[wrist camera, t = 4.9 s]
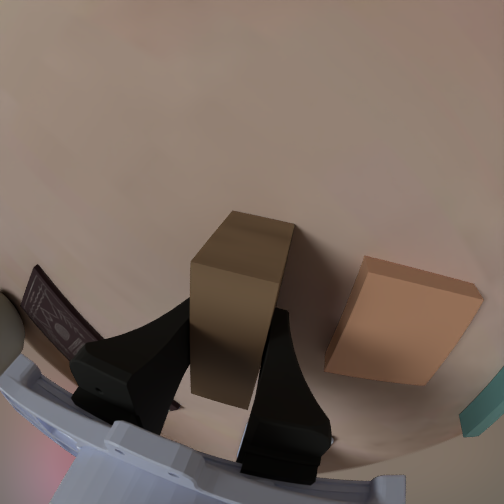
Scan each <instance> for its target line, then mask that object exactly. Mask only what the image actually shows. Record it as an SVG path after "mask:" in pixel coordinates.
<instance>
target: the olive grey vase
mask: <svg viewBox="0 0 504 504" xmlns="http://www.w3.org/2000/svg"><path fill="white" fill-rule="evenodd" d="M24 338H25V331H24V326H23V322H22V320H21V317H20V315H19V313H18V311H17V310H16V308H15V307H14V305H13V304H12V303H11V302H10V301H9V300H8V299H7V297H6V296H5V295H3V294H2V293H1V292H0V376H1V375H2V374H3V373H4V372H5V371H6V370H7V368H8V367H9V366H10V365H11V364H12V363H13V362H14V360H15V359H16V358H17V357H18V356H19V355H20V353H21V351H22V350H23V346H24Z"/></svg>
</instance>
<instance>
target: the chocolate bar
mask: <svg viewBox="0 0 504 504" xmlns="http://www.w3.org/2000/svg"><path fill="white" fill-rule="evenodd" d="M20 306H21V307H22V309H23V310H24V311H25V312H26V314H27V315H28V316H29V317H30V318H31V320H32V321H33V322H34V323H35V324H36V326H37V327H38V328H39V329H40V330H41V331H42V332H43V334H44V335H45V336H46V337H47V338H48V339H49V340H50V341H51V342H52V343H53V344H54V346H55V347H56V348H57V349H58V350H59V351H60V352H61V353H62V354H63V355H64V356H65V357H66V358H67V359H68V360H69V361H71V360H72V359H73V357H74V356H75V355H76V354H77V352H78V351H79V350H80V349H81V347H82V346H83V345H84V344H85V343H87V342H93V341H99V340H104V339H103V338H102V337H101V336H100V335H99V334H98V333H97V332H96V331H95V330H94V328H93V327H92V326H91V325H90V324H89V323H88V322H87V321H86V320H85V319H84V318H83V317H82V316H81V315H80V314H79V313H78V312H77V310H76V309H75V308H74V307H73V306H72V305H71V304H70V303H69V301H68V300H67V299H66V298H65V297H64V296H63V295H62V293H61V292H60V291H59V290H58V289H57V287H56V286H55V285H54V284H53V283H52V281H51V280H50V279H49V278H48V276H47V275H46V274H45V273H44V271H43V270H42V269H41V268H40V266H39V265H38V264H37V265H36V266H35V267H34V268H33V271H32V273H31V276H30V279H29V281H28V284H27V287H26V290H25V293H24V296H23V299H22V302H21V305H20ZM179 407H180V404H178V403H177V402H176V401H174V400H173V401H172V404H171V406H170V409H169V411H173V410H178V409H179Z"/></svg>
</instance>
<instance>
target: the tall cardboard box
mask: <svg viewBox="0 0 504 504" xmlns="http://www.w3.org/2000/svg"><path fill="white" fill-rule="evenodd" d="M294 225H295V224H292V223H287V222H283V221H278V220H274V219H269V218H265V217H260V216H255V215H251V214H246V213H241V212H236V211H232V212H231V213H230V214H229V216H228V217H227V218H226V219H225V220H224V222H223V223H222V224H221V225H220V226H219V228H218V229H217V230H216V231H215V232H214V234H213V235H212V236H211V237H210V238H209V240H208V241H207V242H206V243H205V245H204V246H203V247H202V248H201V249H200V251H199V252H198V253H197V254H196V256H195V257H194V258H193V259H192V261H191V267H190V378H191V393H192V394H195V395H198V396H201V397H204V398H207V399H211V400H214V401H217V402H221V403H224V404H228V405H231V406H235V407H238V408H242V409H246V410H248V407H249V404H250V400H251V397H252V394H253V390H254V387H255V383H256V380H257V376H258V373H259V369H260V366H261V361H262V356H263V352H264V348H265V344H266V340H267V336H268V332H269V328H270V324H271V320H272V317H273V313H274V309H275V308H276V304H277V300H278V295H279V291H280V287H281V283H282V278H283V274H284V270H285V265H286V261H287V257H288V252H289V248H290V243H291V239H292V234H293V230H294Z"/></svg>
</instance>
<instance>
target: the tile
mask: <svg viewBox="0 0 504 504" xmlns="http://www.w3.org/2000/svg"><path fill="white" fill-rule="evenodd" d="M483 301H484V299H483V298H482V296H481V295H480V293H479V291H478V290H477V288H476V287H475V285H474V284H473V283H469V282H465V281H462V280H458V279H454V278H450V277H447V276H443V275H439V274H435V273H432V272H428V271H424V270H420V269H416V268H412V267H408V266H404V265H400V264H396V263H393V262H389V261H385V260H381V259H377V258H372V257H368V256H364V259H363V262H362V265H361V267H360V270H359V273H358V275H357V278H356V281H355V283H354V286H353V289H352V291H351V294H350V296H349V299H348V301H347V304H346V306H345V309H344V311H343V314H342V316H341V318H340V321H339V323H338V326H337V328H336V330H335V332H334V335H333V337H332V339H331V342H330V344H329V346H328V348H327V350H326V353H325V365H324V372H329V373H334V374H340V375H346V376H352V377H358V378H364V379H371V380H378V381H385V382H393V383H401V384H410V385H420V386H425V385H426V384H427V382H428V381H429V380H430V379H431V377H432V376H433V375H434V374H435V372H436V371H437V370H438V368H439V367H440V366H441V364H442V363H443V362H444V360H445V359H446V358H447V356H448V355H449V354H450V352H451V351H452V349H453V348H454V347H455V345H456V344H457V342H458V341H459V339H460V338H461V336H462V335H463V333H464V332H465V330H466V329H467V327H468V326H469V324H470V322H471V321H472V319H473V318H474V316H475V314H476V313H477V311H478V309H479V308H480V306H481V304H482V302H483Z"/></svg>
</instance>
